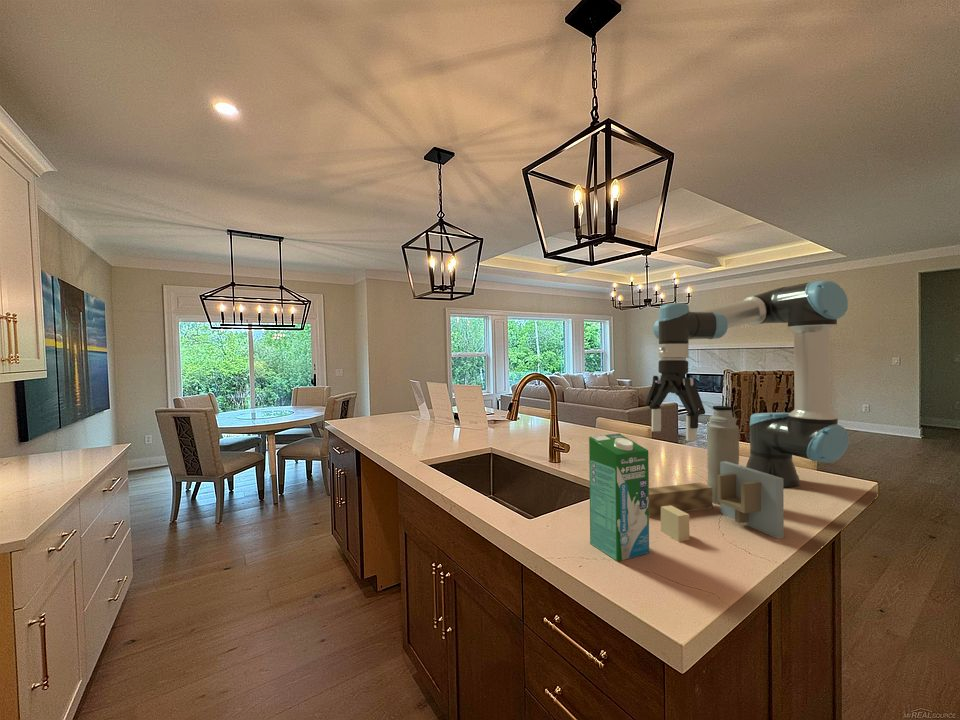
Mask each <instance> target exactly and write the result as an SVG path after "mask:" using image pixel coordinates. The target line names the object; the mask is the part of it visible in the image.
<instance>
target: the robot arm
mask: <svg viewBox="0 0 960 720" xmlns="http://www.w3.org/2000/svg"><path fill="white" fill-rule="evenodd" d="M847 296H848V295H847V293H846V291H845V290H844V289H843V288H842V287H841V286H840V285H839V284H838V283H837V282H836V281H835V282H834V281H831V280H818V281H817V280H815V281H810V282H804V283H799V284H794V285H788V286H784V287H777V288H774V289H772V290H769V291H766V292H762V293H758V294H756V295H753V296H748V297H745V298H744V299H743V300H742V301H738V302H733V303H729V304H728V303H727V304H724V305H719V306H715V307H709V308H705V309H701V310H700V309H699V310H695V311H690V307H689V304H688V303H683V302H677V303H676V302H675V303H667V304H661V306H660V307H659V311H658V319H657V320H656V321H655V322H654V324H653V327H652V330H653V334H654V336H655V337H656V339H658V358H659V359H660V360H659V361H658V373H659V374H661V375H653V377H652V383H651V386H650V390H649V393H648V394H647V398H646V401H645V405H646V406H648V407H649V409H650V418H651V419H650V420H651V432H661V431H662V407H661V405H662V404H663V402H664V400H665V399H666V397H667V396H668V394H670V393H671V394H675V395H676V396H678V398H679V400H680V401H681V403H682V406H683V407H684V409H685V411H686V413H687V414H686V416H685V441H687V442H690V441H691V442H692V441H697V434H698V432H697V429H699V416H701V415H705V414H706V410H705V406H704V405H703V400H702V398H701V396H700V394H699V390H698V388H697V382H696V378H695V377H686V376H687V374H688V373H689V361H688V360H687V359H689V340H705V339H707V340H713V339H714V340H715V339H721V338H722V337H724V336H725V335H726V333H727V332H728V329H729V328H734V327H739V326H744V325H747V324H748V325H751V326H756V325H762V324H787V329H789V330H790V331H791V332H793V363H794V365H793V372H794V374H793V377H794V378H793V380H794V381H793V382H794V383H793V385H794V387H793V388H794V389H793V390H794V392H793V393H794V396H793V397H794V408H793V410H792V411H791V412H758V413H757V412H755V413H752V414H751V415H750V418H749V419H750V420H749V452H750V453H749V458H748V460H747V463H746V466H745V467H747V468H750V469H754V470H757V471H760V472H764V473H767V474H770V475H774V476H777V477H780V478H783V488H792V487H794V488H795V487H797V486H799V485H800V477H799V475H798V473H797V470H796V467H795V464H794V462H793V461H794V460H793V456H795V457H799V458H801V459H802V458H803V459H806V460H810V461H811V462H821V463H833V462H836V461H838V460H839V459H840V458H841V457H842V456H843V455H845V453H846V451H847V449H848V448H849V442H850V436H849V433H848V431H847V429H846V428H845V427H844V426H842V425H840V424H838V422H839V421H838V420H839V418H838V416H837V415H836V414H835V413H833V412H832V410H831V409H832V407H831V403H832V400H831V399H832V397H831V395H832V394H831V393H832V392H831V378H832V376H831V375H832V374H831V331H832V330H833V329H834V328H836V327H837V325H838V320H839V319H840V318H842V317H843V316H845V315H846V312H847V310H848V307H849V300H848V297H847Z"/></svg>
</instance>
